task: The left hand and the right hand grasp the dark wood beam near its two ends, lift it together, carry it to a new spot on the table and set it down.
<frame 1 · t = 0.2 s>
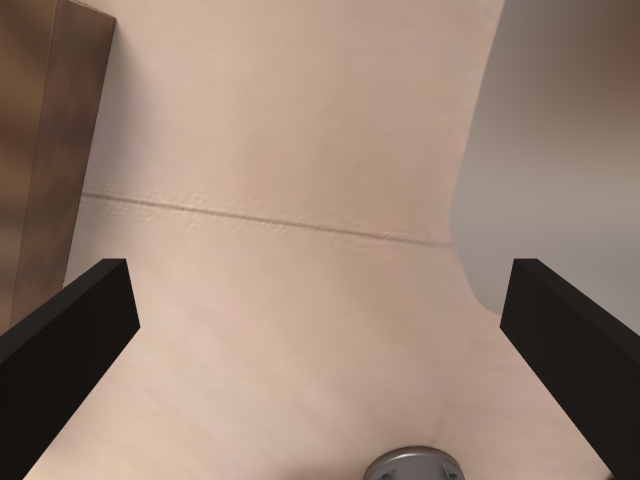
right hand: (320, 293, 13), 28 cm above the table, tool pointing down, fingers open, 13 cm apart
beam: (44, 242, 42), on the table
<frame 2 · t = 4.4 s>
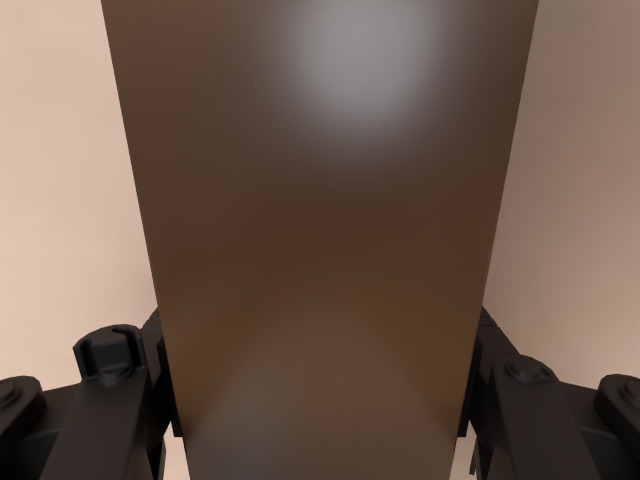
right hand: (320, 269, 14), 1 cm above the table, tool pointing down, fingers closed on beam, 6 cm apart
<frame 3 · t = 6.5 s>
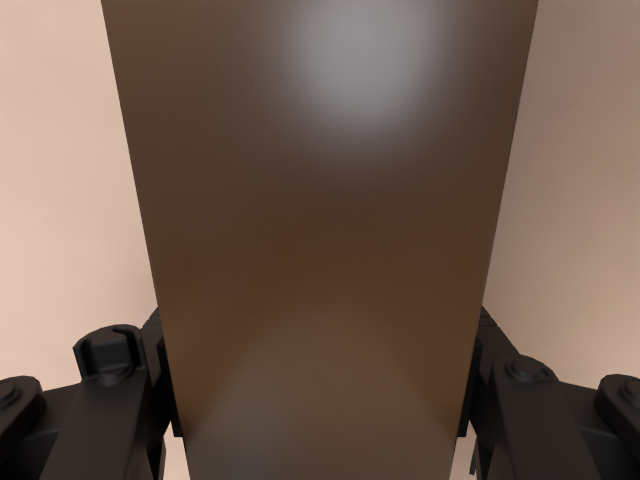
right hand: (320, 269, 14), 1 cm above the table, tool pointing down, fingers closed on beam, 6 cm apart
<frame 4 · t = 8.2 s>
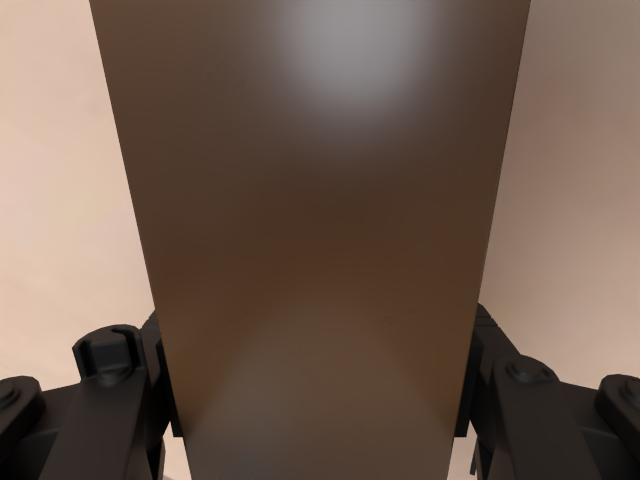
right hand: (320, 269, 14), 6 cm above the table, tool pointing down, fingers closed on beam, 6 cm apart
when the right hand's fingers open (1 cm above the table, at t = 9.7 s): beam stays where it is, on the table.
when the left hand's fingers open (4 cm above the table, at t = 9.9 s): beam stays where it is, on the table.
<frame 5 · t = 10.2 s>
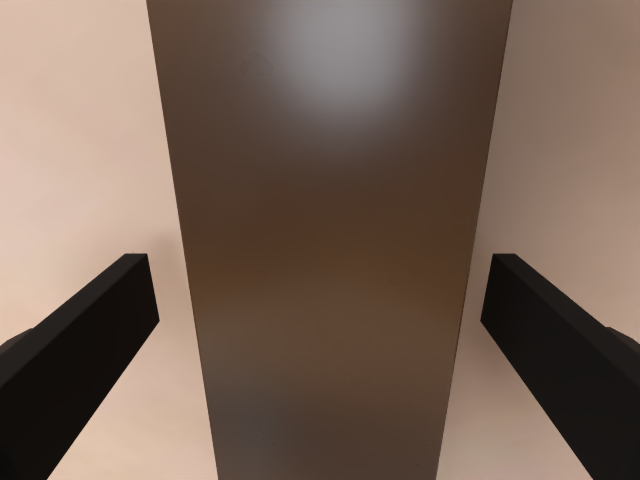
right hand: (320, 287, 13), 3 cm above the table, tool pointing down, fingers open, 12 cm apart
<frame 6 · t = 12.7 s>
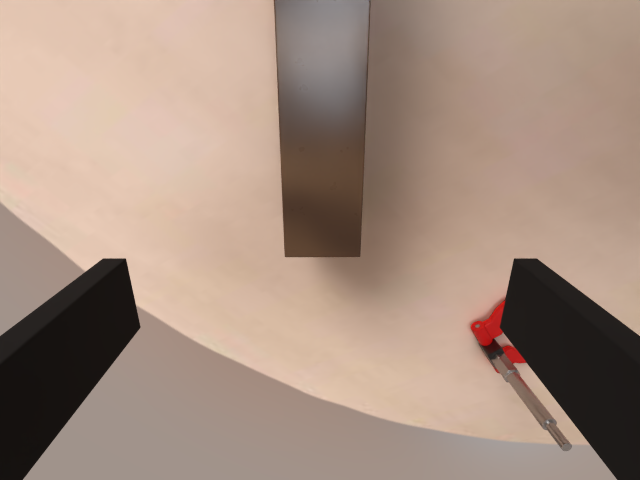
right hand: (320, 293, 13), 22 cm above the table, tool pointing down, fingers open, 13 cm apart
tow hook: (519, 325, 39), on the table
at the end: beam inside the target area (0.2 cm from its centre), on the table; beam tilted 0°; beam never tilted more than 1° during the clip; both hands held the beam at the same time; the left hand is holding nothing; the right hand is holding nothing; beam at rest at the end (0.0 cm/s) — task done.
